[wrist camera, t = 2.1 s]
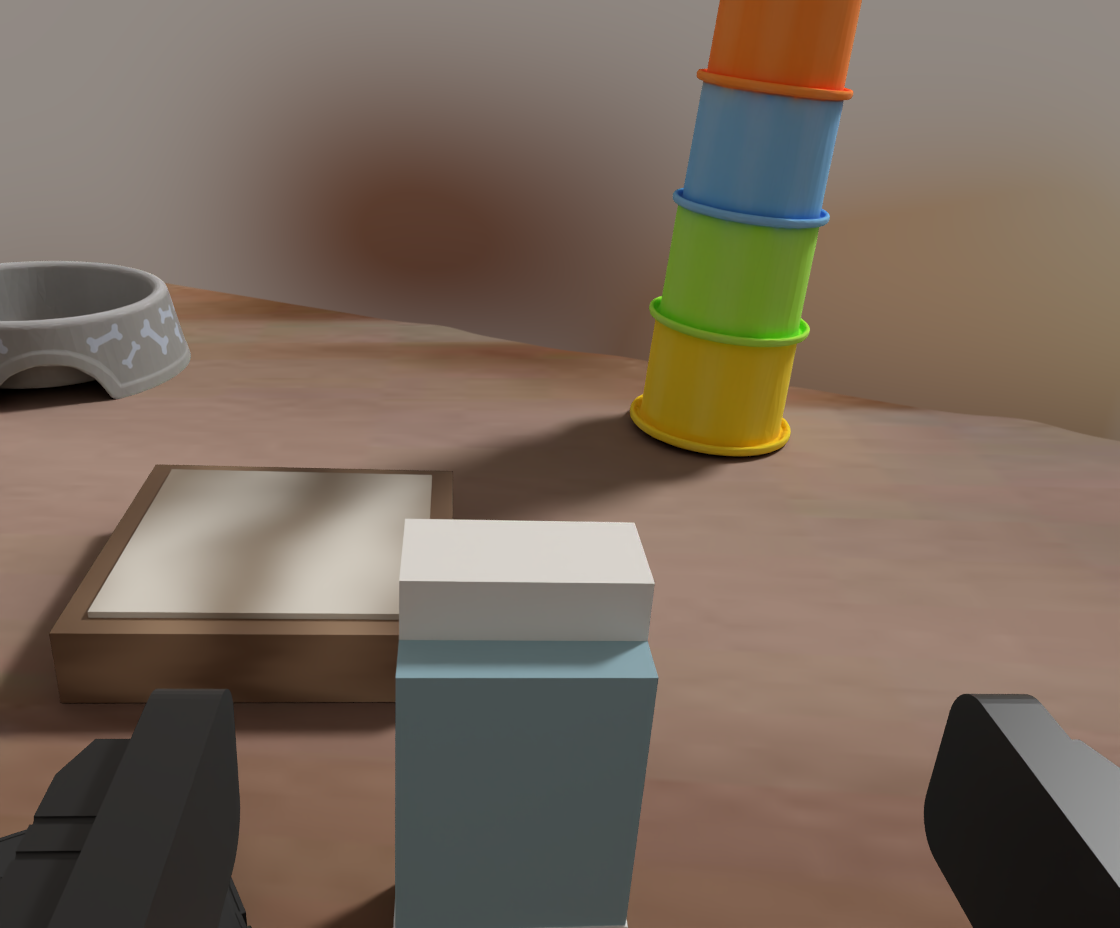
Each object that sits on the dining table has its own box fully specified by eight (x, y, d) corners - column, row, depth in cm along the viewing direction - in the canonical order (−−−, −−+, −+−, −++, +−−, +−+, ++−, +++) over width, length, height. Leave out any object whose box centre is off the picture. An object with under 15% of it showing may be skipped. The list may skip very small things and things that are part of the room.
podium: (451, 525, 51) (453, 466, 50) (450, 701, 38) (452, 629, 37) (162, 520, 49) (155, 459, 48) (60, 703, 37) (48, 627, 35)
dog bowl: (-106, 337, 71) (-122, 261, 69) (172, 319, 79) (165, 250, 77) (-127, 428, 57) (-148, 337, 55) (211, 395, 65) (205, 314, 63)
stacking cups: (682, 387, 72) (755, -188, 57) (816, 429, 66) (933, -195, 52) (597, 425, 64) (657, -225, 50) (740, 476, 59) (854, -239, 44)
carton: (586, 873, 31) (627, 496, 26) (611, 1043, 26) (669, 619, 21) (403, 877, 31) (405, 492, 25) (392, 1052, 26) (393, 617, 20)
